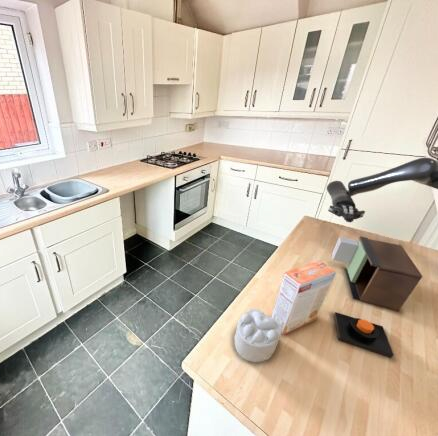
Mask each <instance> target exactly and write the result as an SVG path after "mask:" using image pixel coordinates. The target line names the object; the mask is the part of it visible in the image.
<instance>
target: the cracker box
mask: <svg viewBox="0 0 438 436" xmlns="http://www.w3.org/2000/svg"><path fill="white" fill-rule="evenodd" d="M336 274H337V270H336V269H334V268H332V267H331V266H329V265H328V264H325V263H324V262H322V261H321V260H315V261H313V262H309V263H307V264H304V265H302V266H298V267H296V268H293V269H289V270H287V271H284V272H283V275H282V279H281V282H280V284H279V288H278V292H277V295H276V298H275V301H274V305H273V308H272V311H271V316H270V317H271V318H273V319H275V320H277V321H278V322H279V323H280V325H281V327H282V333H281V334H283V335H285V334H288V333H290V332H292V331H294V330H297V329H299V328H301V327H303V326H306V325H308V324H310V323H312V322H314V321H316V320H317V317H318V315H319V313H320V310H321V308H322V306H323V304H324V301H325V300H326V297H327V294H328V292H329V291H330V288H331V285H332V283H333V281H334V279H335V277H336Z"/></svg>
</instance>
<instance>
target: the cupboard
mask: <svg viewBox="0 0 438 436" xmlns="http://www.w3.org/2000/svg"><path fill="white" fill-rule="evenodd" d="M358 239H359V241H360V242H361V244H362V246H363V248H364V251H365V253H366V255H367V258H368V259H367V261H366V263H365V264H364V266H363V268H362V270H361V272H360V274H359V276H358V278H357V280H356V282H355V283H353V282H351V280H350V277H349V274H348V270H347V267H345V268H343V269H344V273H345V277H346V280H347V282H348V287H349V290H350V294H351V297H352V300H354V301H359V302H362V303H366V304H368V305H372V306H376V307H380V308H383V309H388V310H391V311H394V312H399V311H400V310H401V309H402V307H403V305H404V304H405V303H406V301H407V300H408V298H409V297H410V295H411V294H412V293H413V291H414V290H415V288H416V287H417V286H418V284H419V282H420V281H421V279H423V275H422V273H421V272H420V270H419V268H418V267H417V265H415V263H414V261H413V260H412V258H411V257H410V256H409V254H408V253H407V251H406V249H405V248H404V246H403V245H402V244H397V243H392V242H387V241H381V240H375V239H371V238H369V237H364V236H359V237H358Z"/></svg>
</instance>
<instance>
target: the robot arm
mask: <svg viewBox="0 0 438 436" xmlns="http://www.w3.org/2000/svg"><path fill="white" fill-rule="evenodd" d="M407 181H412V182H414V183H418V184H421V185H423V186H427V187H430V188H433V189H435V190H438V160H437V159H434V158H433V157H420V158H417V159H413V160H410V161H408V162H405V163H403V164H400V165H398V166H395V167H392V168H389V169H387V170H384V171H381V172H378V173H374V174H371V175H368V176H363V177H359V178H355V179H351V180H350V181H348V184H347V187H346V186H345V184H344V183H343V181H341V180H333V181H331V182H329V183H328V184H327V185H326V191H327V193H328V194H329V196H330V200H331V204H332V205H329V207H328V210H327V211H328V212H329V213H331V214H333V215H334V216H336V217H339V218H341V217H342V218H343V220H344V221H345V222H346V223H352V222H354V220H359V219H361V218H363V217H364V216H365V213H366V211H365V210H359V209H358V208H357V207H356V203H355V201H354V200H353V196H357V195H359V194H363V193H368V192H373V191H376V190H379V189H381V188H383V187H385V186H388V185H391V184H395V183H398V182H399V183H400V182H407Z"/></svg>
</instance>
